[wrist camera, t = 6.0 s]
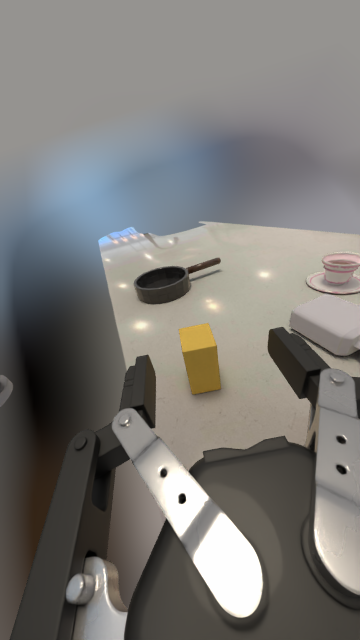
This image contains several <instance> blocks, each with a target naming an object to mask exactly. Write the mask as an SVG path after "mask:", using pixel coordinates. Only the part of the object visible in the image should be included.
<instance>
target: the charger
mask: <svg viewBox="0 0 360 640" xmlns="http://www.w3.org/2000/svg"><path fill="white" fill-rule="evenodd" d="M289 327H291V328H293V329H294V330H296V331H297V332H299V333H301V334H302V335H304V336H306V337H307V338H309V339H311V340H312V341H314V342H316V343H317V344H319V345H321V346H322V347H324V348H325V349H327V350H329V351H330V352H332V353H334V354H335V355H345V356H348V355H350V354H352V353H354V352H356V351H357V350H360V305H357V304H354V303H352V302H349V301H346V300H344V299H341V298H338V297H336V296H333V295H330V294H324V295H322V296H320V297H317V298H315V299H313V300H310V301H308V302H306V303H303V304H301V305H299V306H297V307H296V308H294V309H293V311H292V313H291V318H290V324H289Z"/></svg>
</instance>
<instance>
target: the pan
mask: <svg viewBox="0 0 360 640" xmlns="http://www.w3.org/2000/svg"><path fill="white" fill-rule="evenodd" d="M134 287H135V290H136V293H137V296H138V298H139V299H140V300H141V301H142V302H144V303H148V304H160V303H166V302H170V301H173V300H176V299H178V298H180V297H182V296H183V295H185V294H186V293H187V292H188V291H189V289H190V280H189V273H188V270H187V269H185V268H183V267H179V266H168V267H161V268H157V269H153V270H150V271H148V272H146V273H143V274H142V275H140V276H139V277H137V279H136V280H135V281H134Z"/></svg>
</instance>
